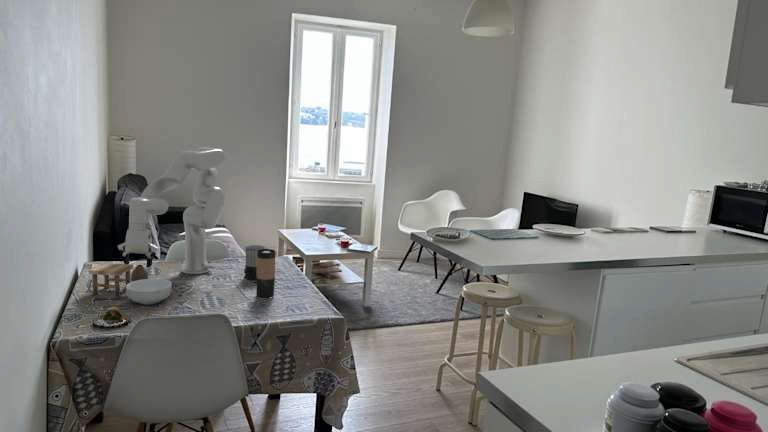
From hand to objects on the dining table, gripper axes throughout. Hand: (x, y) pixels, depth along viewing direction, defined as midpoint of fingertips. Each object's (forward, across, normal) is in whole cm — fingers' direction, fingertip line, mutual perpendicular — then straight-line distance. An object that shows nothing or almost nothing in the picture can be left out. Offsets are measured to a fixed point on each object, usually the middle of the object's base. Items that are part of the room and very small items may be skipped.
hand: (137, 265), depth 233 cm
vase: (+9, -1, -1) cm, 9 cm away
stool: (+9, +5, +11) cm, 15 cm away
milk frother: (+7, -44, -27) cm, 52 cm away
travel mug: (+8, -57, +4) cm, 57 cm away
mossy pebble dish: (+10, -12, +44) cm, 47 cm away
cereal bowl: (+9, -14, +19) cm, 25 cm away
